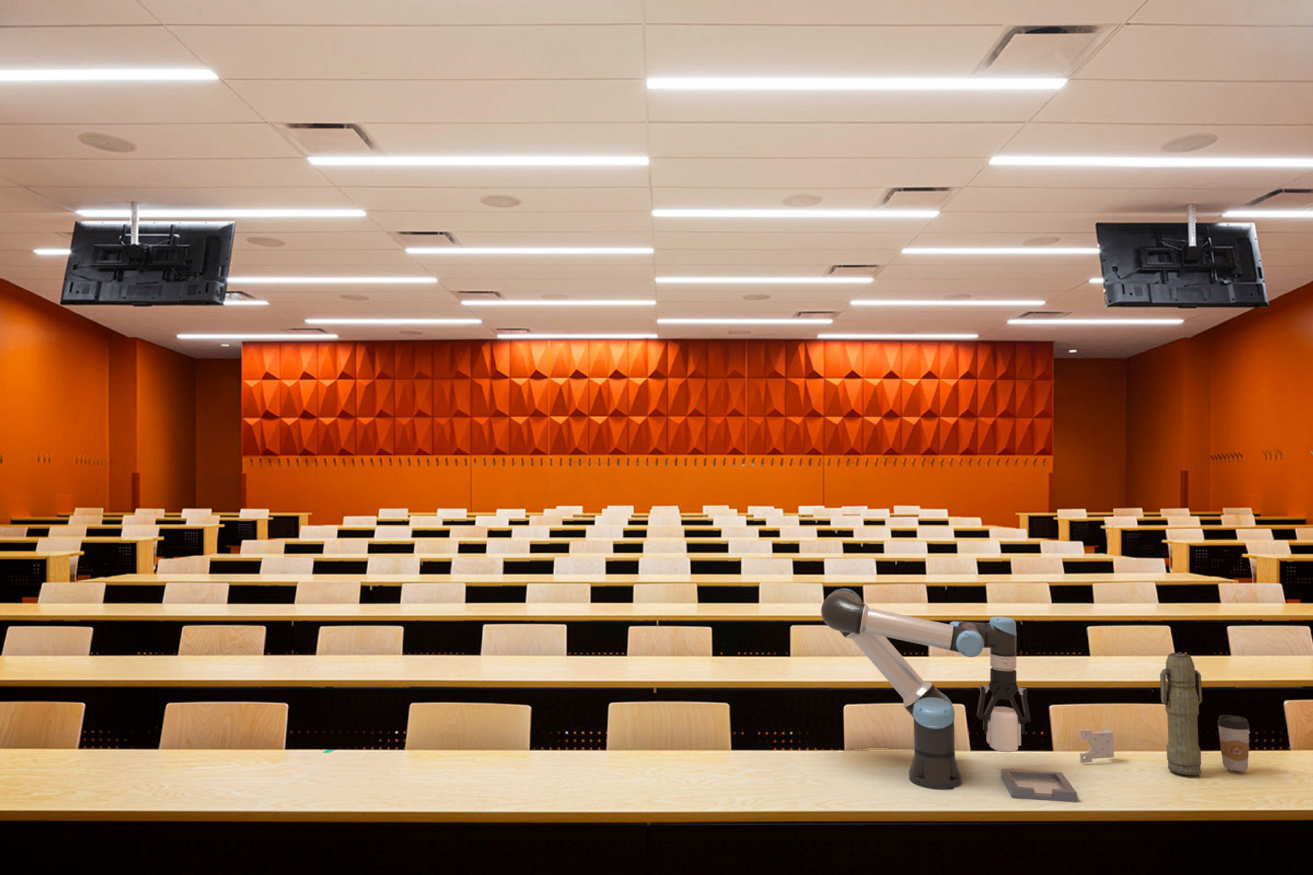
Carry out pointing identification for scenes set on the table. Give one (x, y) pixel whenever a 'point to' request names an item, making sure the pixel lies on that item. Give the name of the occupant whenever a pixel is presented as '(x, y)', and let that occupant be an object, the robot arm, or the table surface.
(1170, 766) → the thermos
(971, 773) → the table surface
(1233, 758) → the coffee cup
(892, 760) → the table surface
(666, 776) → the table surface
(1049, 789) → the chassis pocket
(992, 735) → the beverage can
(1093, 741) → the bracket
